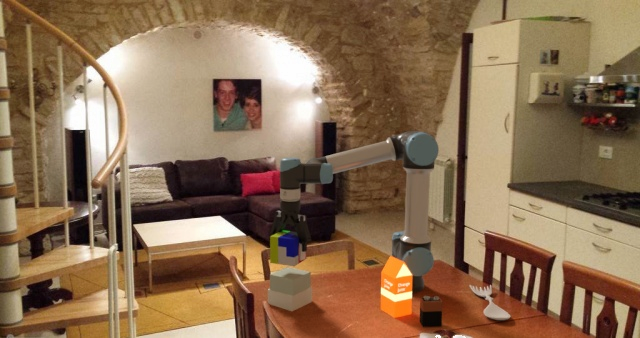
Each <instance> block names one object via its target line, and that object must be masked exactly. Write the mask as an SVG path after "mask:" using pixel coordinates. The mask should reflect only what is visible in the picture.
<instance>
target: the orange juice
mask: <svg viewBox="0 0 640 338" xmlns="http://www.w3.org/2000/svg"><path fill="white" fill-rule="evenodd" d="M380 274H381V278H380V279H381V281H380V310H381V311H383V312H385V313H386V314H388V315H389V316H391V317H392V318H394V319H396V318H400V317H405V316H409V315H412V311H413V310H412V308H413V307H412V306H413V305H412V303H413V293H412V276H413V275H412V274H411V272H410V270H409V269H408V267H407V266H406V264H405V262H403V261H401V260H399V259H397V258H394V257H392V255H390V256H389V258H388V259H387V261H386V263H385V265H384V267H383V269H382V270H381V273H380Z"/></svg>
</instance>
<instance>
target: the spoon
mask: <svg viewBox="0 0 640 338" xmlns="http://www.w3.org/2000/svg"><path fill="white" fill-rule="evenodd" d="M492 287H493V286H492V285H491V284H489V286H488V285H487V286H486V287H485V286H484V287H483V288H482V287H481V286H480V287H479V288H478V286H477V285H475V286H474V285H471V284H469V288H470V289H471V291H472V292H473V293H474V294H475V295H477V296H478V297H481V298H484V299H485V300H486V301H488V302H489V304H488V305H487V306H486V307H485V308H484V309H483V310H482V311H483V315H484V316H485V317H487V318H489V319H490V320H496V321H506V320H508V319H510V318H512V316H511V314H510V313H509V312H508V311H506V310H504V309H503V308H501V307H500V306H499V305H497V304H495V303H494V302H493V301H494V297H491V295H492V294H493V288H492Z"/></svg>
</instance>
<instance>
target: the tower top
mask: <svg viewBox="0 0 640 338" xmlns="http://www.w3.org/2000/svg"><path fill="white" fill-rule="evenodd" d="M311 275H312V274H311V271H309V270H304V269H299V268H295V267H292V266H287V267H284V268H282V269H279V270H277V271H274V272H272V273H269V289H270V290H273V291H277V292H281V293H284V294H288V295H292V296H294V295H296V294H298V293H300V292H302V291H304V290H306V289H308V288H310V287H312V286H311V279H312V277H311Z"/></svg>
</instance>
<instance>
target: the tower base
mask: <svg viewBox="0 0 640 338" xmlns="http://www.w3.org/2000/svg"><path fill="white" fill-rule="evenodd" d="M312 302H313V287H312V286H311V287H310V288H308V289H306V290H304V291H302V292H300V293H298V294H296V295H294V296H292V295H288V294H284V293H281V292H277V291H273V290H270V288H267V304H268V303H269V304H268V305H270V306H274V307H277V308H279V309H283V310H286V311H289V312H294V311H295V310H298V309H300V308H302V307H304V306H306V305H309V304H310V303H312Z"/></svg>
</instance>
